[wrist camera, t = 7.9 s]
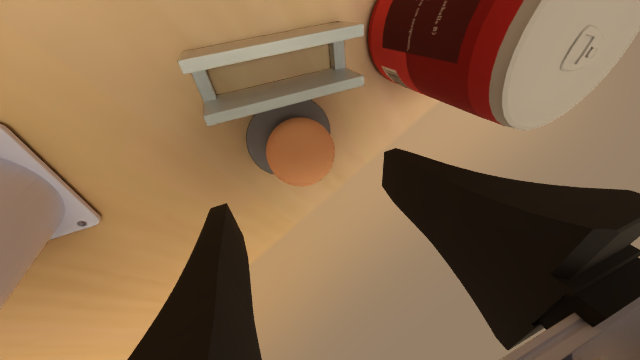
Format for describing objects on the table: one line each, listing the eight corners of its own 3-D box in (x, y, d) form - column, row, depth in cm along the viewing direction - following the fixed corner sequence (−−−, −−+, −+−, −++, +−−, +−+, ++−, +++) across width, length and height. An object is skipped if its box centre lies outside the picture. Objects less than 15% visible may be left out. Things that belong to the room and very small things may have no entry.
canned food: (440, 72, 21) (589, 113, 13) (362, 90, 19) (477, 150, 11) (465, -43, 17) (722, -96, 8) (365, -34, 15) (568, -91, 6)
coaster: (260, 184, 21) (261, 185, 21) (232, 108, 16) (233, 109, 16) (332, 160, 22) (333, 162, 22) (324, 85, 18) (325, 86, 18)
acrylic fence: (208, 107, 16) (207, 126, 13) (183, 51, 14) (177, 61, 11) (341, 74, 18) (364, 85, 15) (337, 21, 16) (363, 23, 13)
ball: (270, 172, 20) (285, 209, 16) (251, 118, 17) (265, 149, 13) (322, 154, 21) (349, 184, 17) (314, 100, 18) (343, 123, 14)
